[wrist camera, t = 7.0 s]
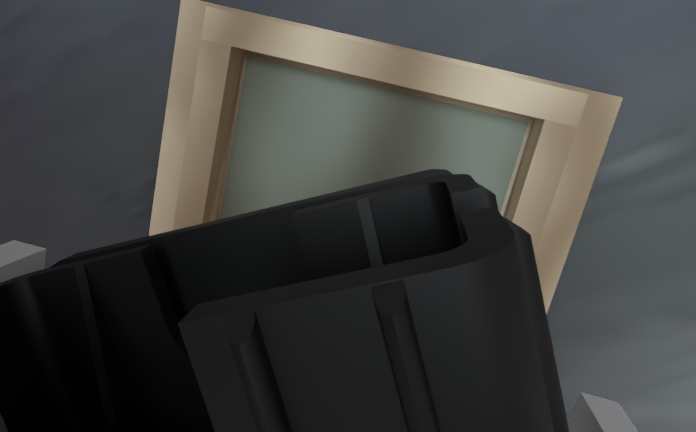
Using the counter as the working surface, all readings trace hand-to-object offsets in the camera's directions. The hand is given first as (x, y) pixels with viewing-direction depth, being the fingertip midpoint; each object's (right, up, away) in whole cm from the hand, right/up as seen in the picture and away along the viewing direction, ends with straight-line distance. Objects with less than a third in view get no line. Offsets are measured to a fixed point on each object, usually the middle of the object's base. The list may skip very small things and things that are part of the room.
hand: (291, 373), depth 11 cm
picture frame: (+1, +3, +12) cm, 12 cm away
